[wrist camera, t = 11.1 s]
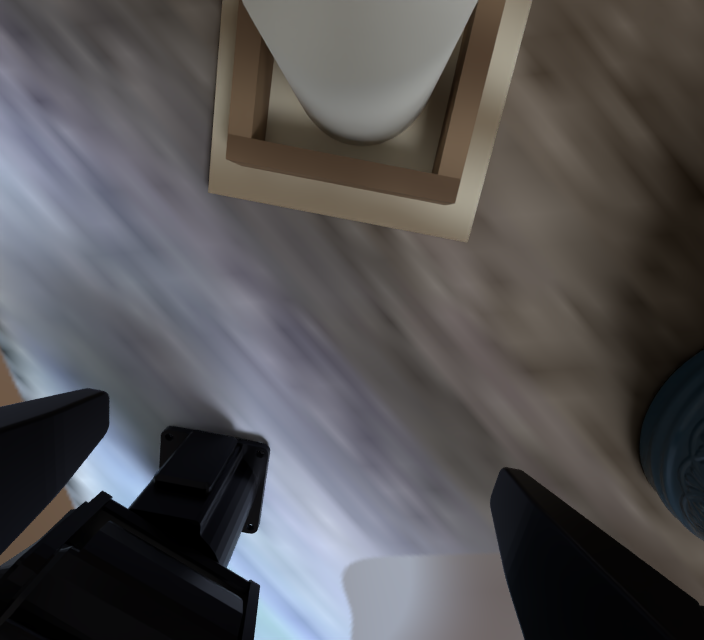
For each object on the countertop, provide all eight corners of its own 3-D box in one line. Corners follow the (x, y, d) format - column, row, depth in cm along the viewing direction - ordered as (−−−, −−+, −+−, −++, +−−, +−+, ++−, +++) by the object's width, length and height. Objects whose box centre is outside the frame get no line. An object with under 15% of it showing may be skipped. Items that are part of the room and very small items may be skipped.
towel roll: (417, 158, 17) (459, 104, 9) (283, 131, 17) (210, 54, 9) (453, -4, 15) (542, -240, 7) (303, -34, 15) (235, -304, 7)
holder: (464, 241, 18) (479, 245, 16) (213, 193, 18) (188, 188, 16) (547, -74, 15) (584, -133, 12) (238, -135, 15) (212, -208, 12)
